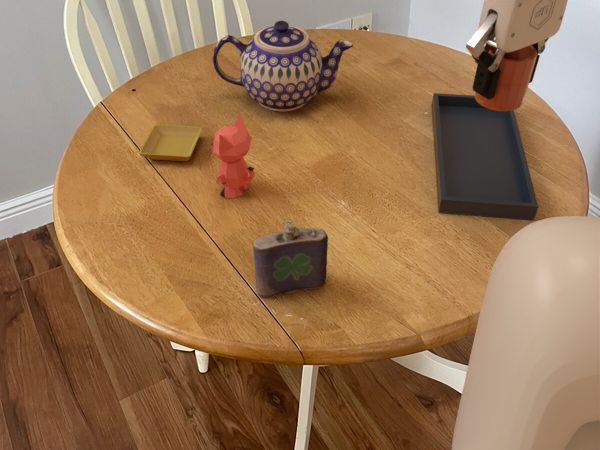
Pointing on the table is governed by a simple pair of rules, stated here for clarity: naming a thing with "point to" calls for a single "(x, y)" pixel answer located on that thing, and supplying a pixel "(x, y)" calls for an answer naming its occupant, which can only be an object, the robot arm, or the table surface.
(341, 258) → the table surface
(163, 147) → the yellow square dish
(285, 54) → the teapot
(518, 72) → the flower pot
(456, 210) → the tray
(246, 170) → the cat figurine
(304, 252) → the flask
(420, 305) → the table surface
